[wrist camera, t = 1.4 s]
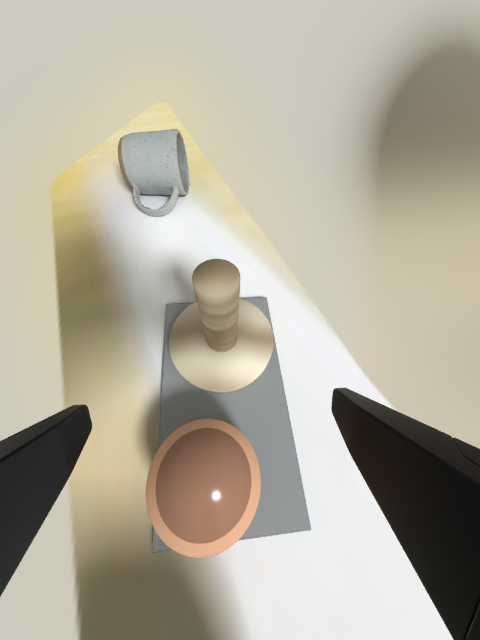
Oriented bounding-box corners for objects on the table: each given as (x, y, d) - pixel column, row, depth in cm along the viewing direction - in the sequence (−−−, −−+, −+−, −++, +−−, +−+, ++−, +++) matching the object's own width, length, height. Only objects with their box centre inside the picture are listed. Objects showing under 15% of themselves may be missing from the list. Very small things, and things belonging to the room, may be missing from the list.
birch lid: (280, 386, 21) (314, 342, 13) (169, 398, 20) (123, 360, 12) (263, 297, 26) (279, 220, 17) (172, 303, 25) (141, 226, 17)
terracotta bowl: (262, 529, 16) (269, 548, 13) (158, 544, 16) (139, 567, 13) (250, 419, 20) (253, 413, 17) (164, 428, 19) (150, 424, 16)
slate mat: (308, 527, 17) (311, 529, 16) (154, 549, 16) (152, 552, 16) (265, 300, 27) (266, 297, 26) (168, 307, 26) (166, 304, 25)
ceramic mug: (140, 176, 38) (120, 118, 31) (191, 176, 38) (181, 118, 32) (128, 220, 33) (100, 162, 26) (186, 219, 33) (173, 162, 27)
